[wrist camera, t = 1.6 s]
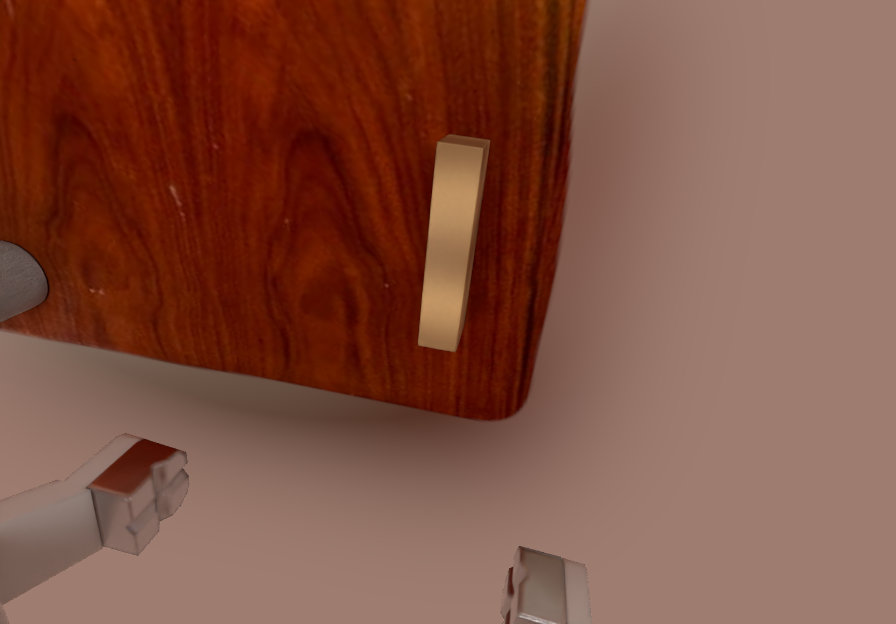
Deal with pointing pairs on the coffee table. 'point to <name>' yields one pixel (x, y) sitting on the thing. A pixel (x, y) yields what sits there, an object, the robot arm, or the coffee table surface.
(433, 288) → the tan wooden bar
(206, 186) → the coffee table surface
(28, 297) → the grey hollow cylinder
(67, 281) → the coffee table surface
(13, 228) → the coffee table surface
